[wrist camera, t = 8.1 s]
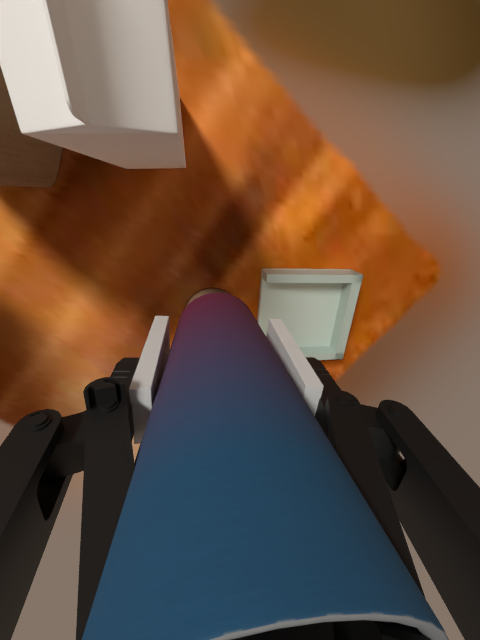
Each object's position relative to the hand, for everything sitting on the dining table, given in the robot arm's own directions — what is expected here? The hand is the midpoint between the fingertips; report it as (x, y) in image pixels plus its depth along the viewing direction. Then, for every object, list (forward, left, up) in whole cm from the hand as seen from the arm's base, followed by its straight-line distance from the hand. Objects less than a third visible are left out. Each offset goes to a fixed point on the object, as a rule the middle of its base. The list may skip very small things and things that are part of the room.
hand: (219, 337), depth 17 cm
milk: (-5, +13, -18) cm, 23 cm away
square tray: (+13, -6, -18) cm, 23 cm away
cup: (0, 0, -2) cm, 2 cm away
